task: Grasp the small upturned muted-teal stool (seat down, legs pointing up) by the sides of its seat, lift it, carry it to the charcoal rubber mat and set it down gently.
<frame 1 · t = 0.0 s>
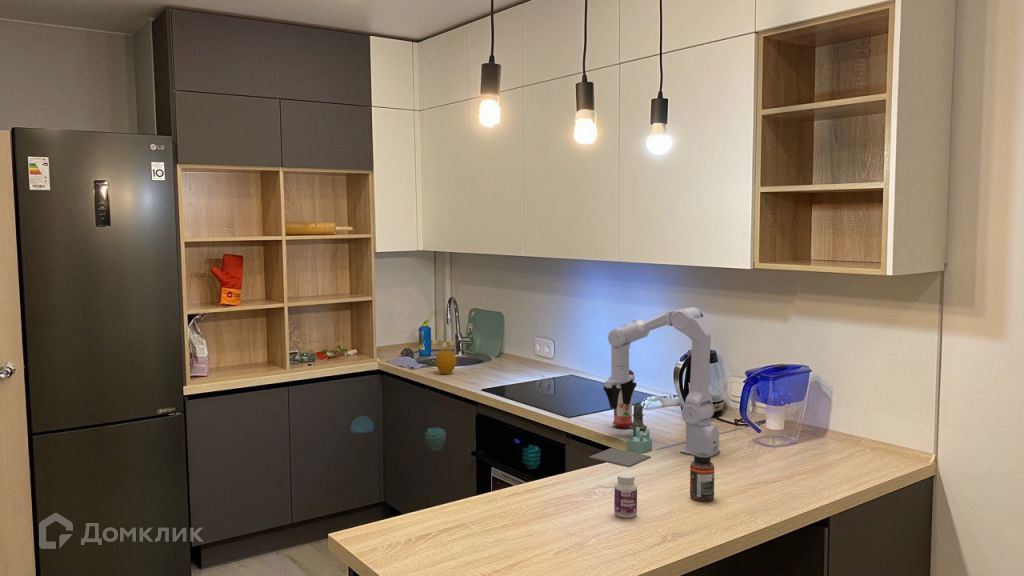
hand: (620, 406, 257), 10 cm above the worktop, fingers open, 7 cm apart
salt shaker: (637, 437, 257), on the worktop
supplement bottle: (701, 498, 199), on the worktop
mat: (619, 457, 234), on the worktop
liquor: (622, 427, 270), on the worktop
apple: (446, 374, 369), on the worktop
stool: (639, 450, 243), on the worktop
pill bottle: (625, 515, 189), on the worktop
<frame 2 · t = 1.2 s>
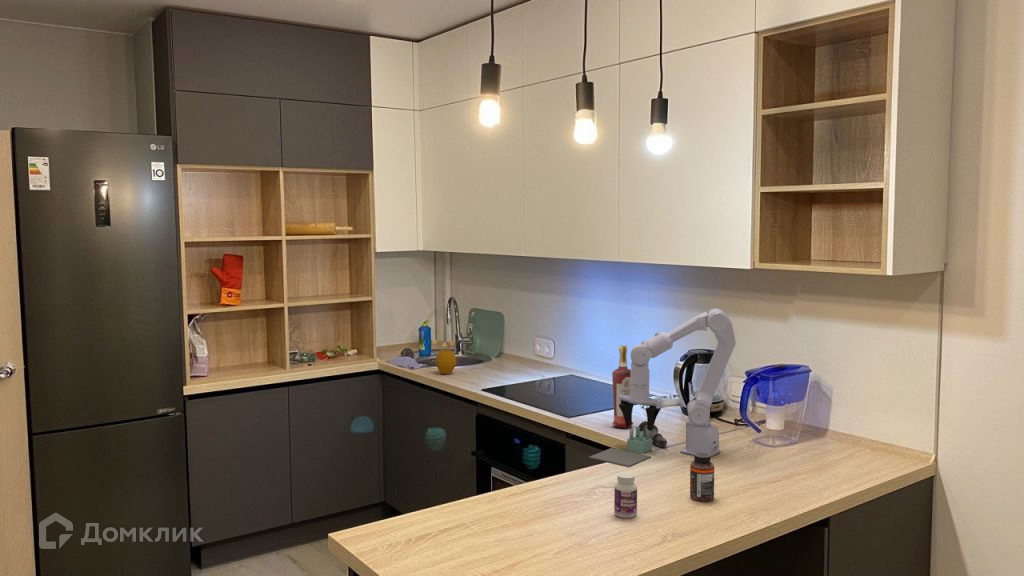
hand: (639, 427, 242), 7 cm above the worktop, fingers open, 7 cm apart
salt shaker: (643, 428, 254), point 4 cm above the worktop
everything else where it was.
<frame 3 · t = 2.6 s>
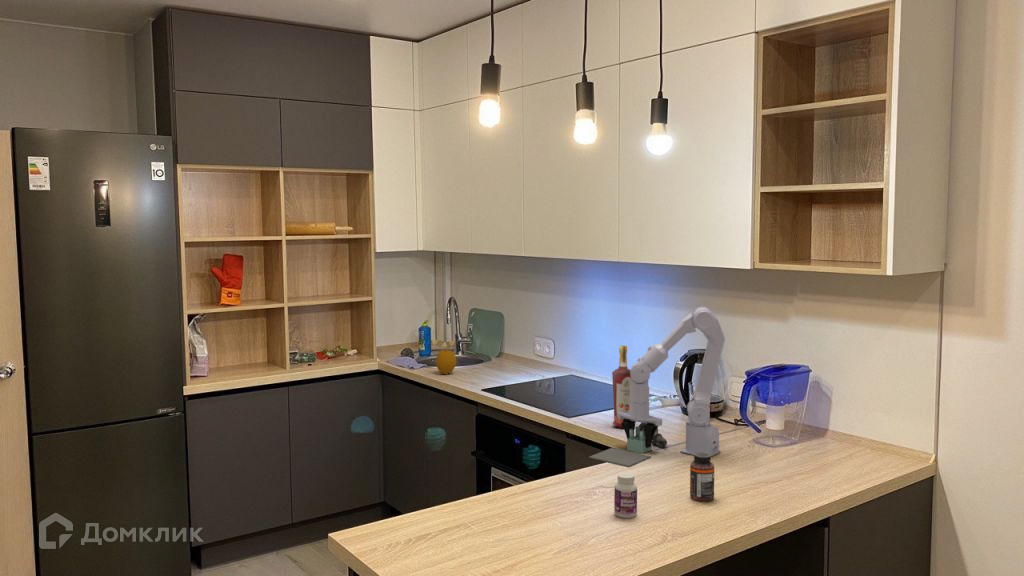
hand: (639, 445, 242), 1 cm above the worktop, fingers closed on stool, 5 cm apart
stool: (639, 449, 243), on the worktop, touching gripper
everything else where it was.
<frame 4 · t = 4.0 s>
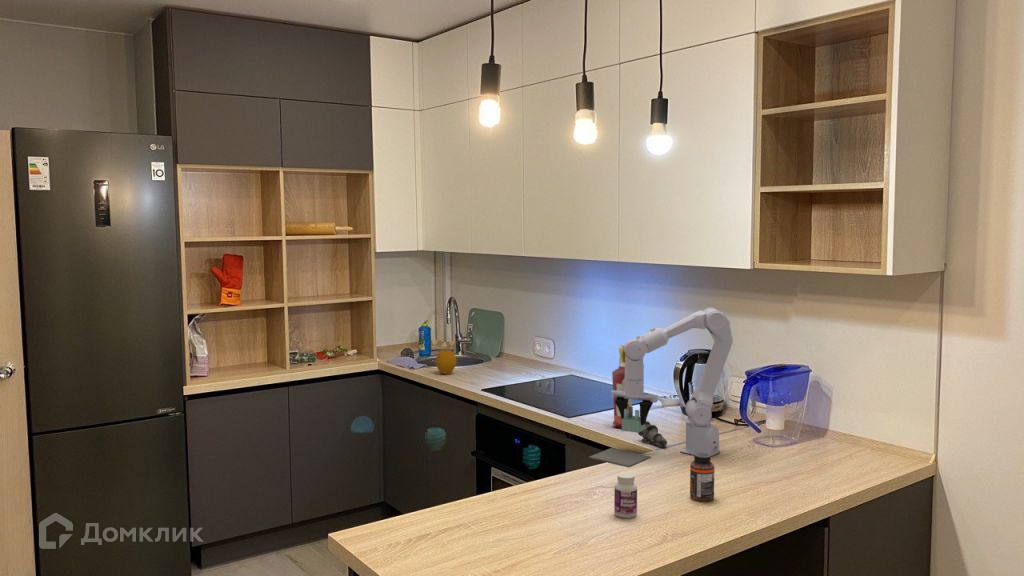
hand: (633, 423, 240), 9 cm above the worktop, fingers closed on stool, 5 cm apart
stool: (633, 429, 240), point 7 cm above the worktop, touching gripper
everything else where it was.
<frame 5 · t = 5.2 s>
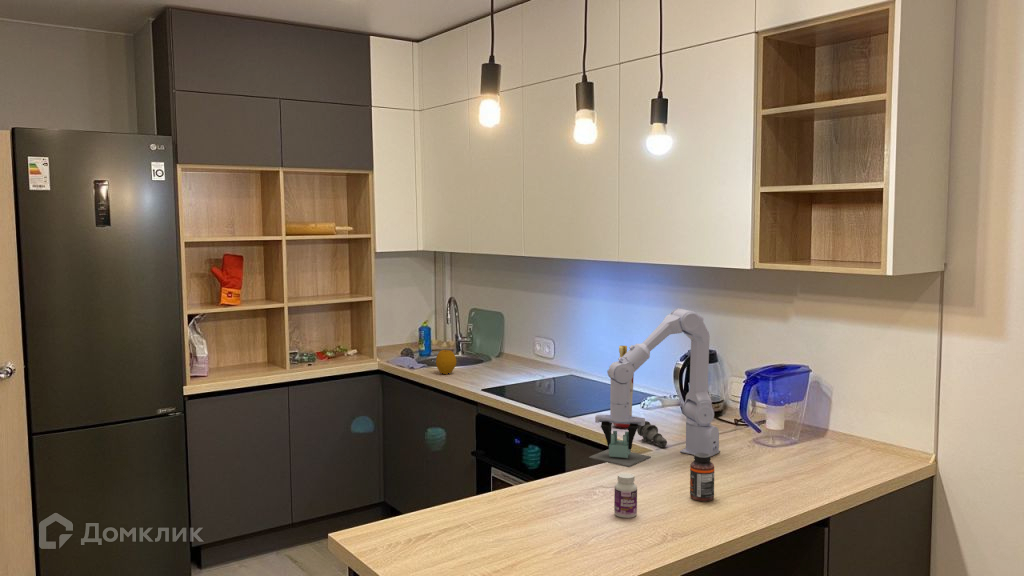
hand: (619, 447, 234), 3 cm above the worktop, fingers closed on stool, 5 cm apart
stool: (619, 454, 234), point 1 cm above the worktop, touching gripper
everything else where it was.
when the fingers open (3 cm above the worktop, at t = 5.8 s): stool stays where it is, resting on mat.
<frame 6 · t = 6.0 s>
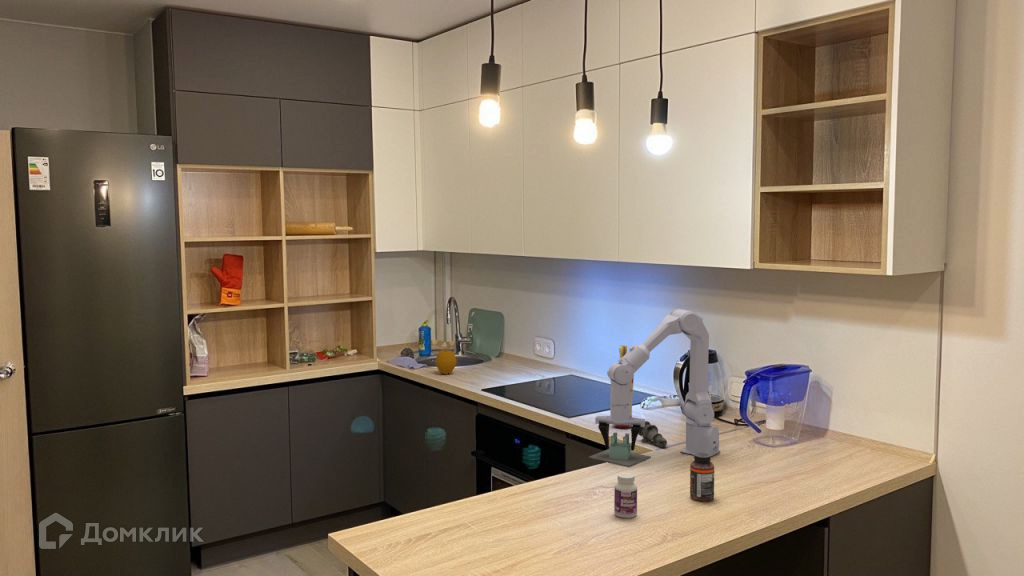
hand: (619, 448, 234), 3 cm above the worktop, fingers open, 7 cm apart
stool: (620, 456, 235), resting on mat
everything else where it was.
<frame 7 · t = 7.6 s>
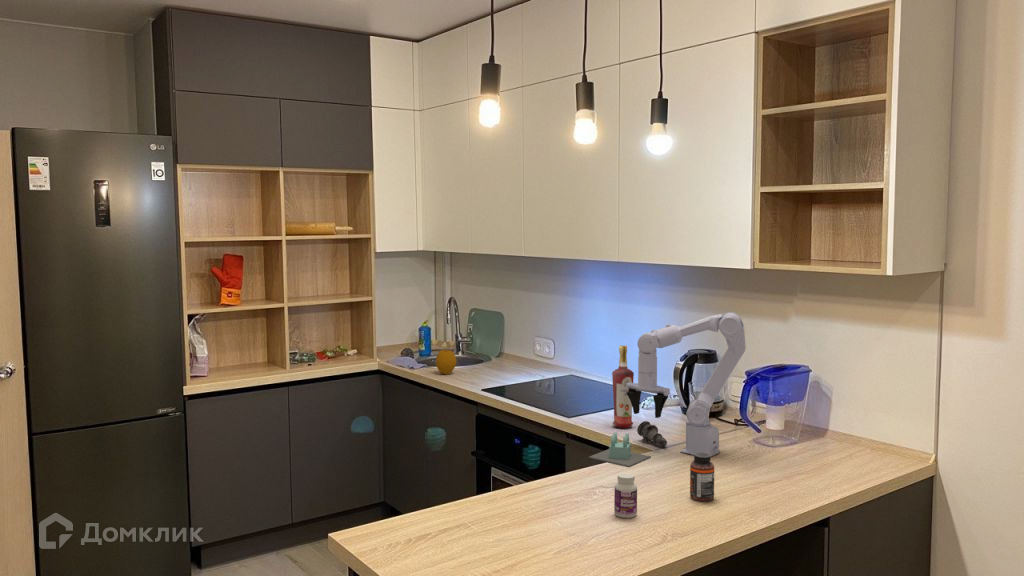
hand: (647, 415, 243), 10 cm above the worktop, fingers open, 7 cm apart
nothing on the worktop moved.
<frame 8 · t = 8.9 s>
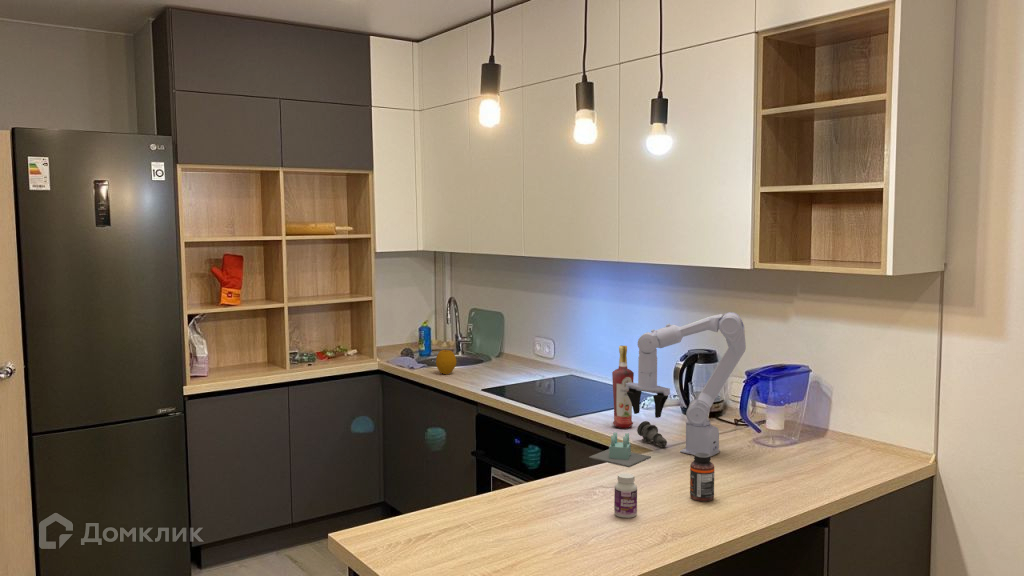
hand: (647, 415, 243), 10 cm above the worktop, fingers open, 7 cm apart
nothing on the worktop moved.
at the end: stool inside the target area on the mat (0.2 cm from its centre), point 0.4 cm above the mat's base; stool tilted 0°; the gripper is holding nothing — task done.
